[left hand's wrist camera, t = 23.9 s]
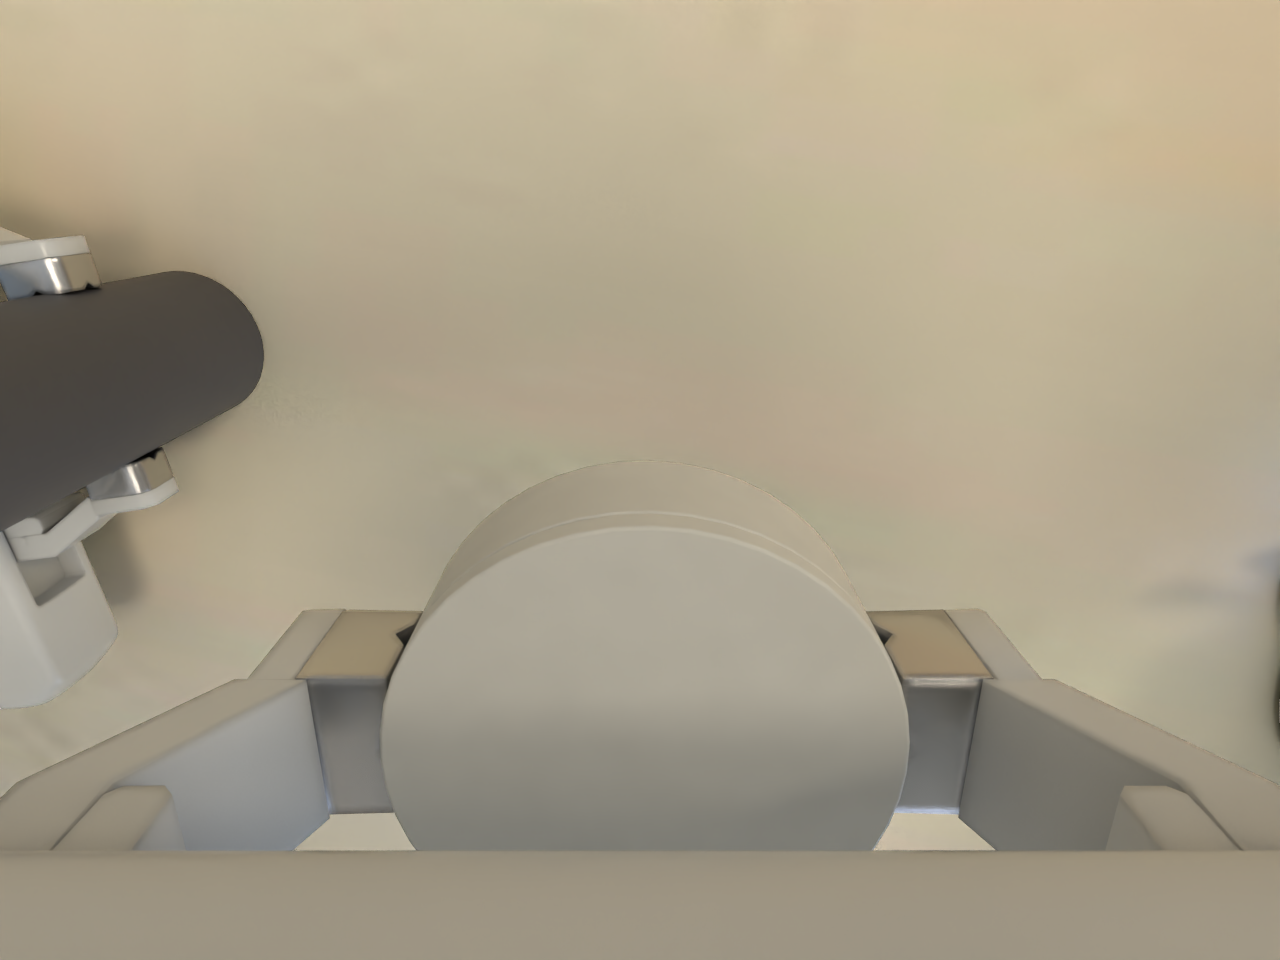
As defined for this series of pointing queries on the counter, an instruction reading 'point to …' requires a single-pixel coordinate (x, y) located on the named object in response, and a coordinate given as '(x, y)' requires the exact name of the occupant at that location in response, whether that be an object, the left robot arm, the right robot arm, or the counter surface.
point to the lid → (644, 679)
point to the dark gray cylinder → (113, 379)
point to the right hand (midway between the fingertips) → (122, 373)
